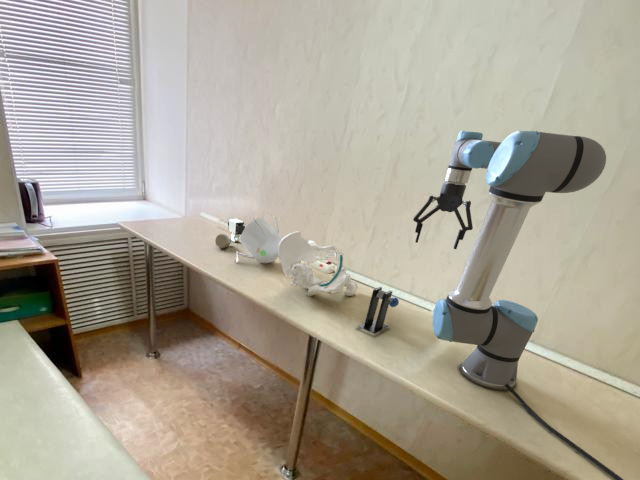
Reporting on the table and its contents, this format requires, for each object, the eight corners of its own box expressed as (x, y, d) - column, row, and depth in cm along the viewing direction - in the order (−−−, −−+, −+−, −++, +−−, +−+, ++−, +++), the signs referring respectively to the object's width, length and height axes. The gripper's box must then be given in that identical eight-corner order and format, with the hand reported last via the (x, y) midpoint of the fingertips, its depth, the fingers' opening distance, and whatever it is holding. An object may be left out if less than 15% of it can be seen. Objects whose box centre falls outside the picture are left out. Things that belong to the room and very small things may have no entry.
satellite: (270, 236, 179) (305, 233, 196) (243, 208, 185) (279, 208, 202) (249, 277, 194) (283, 271, 211) (224, 250, 200) (259, 246, 217)
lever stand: (371, 321, 154) (381, 284, 146) (388, 328, 150) (399, 290, 143) (356, 329, 148) (366, 290, 140) (374, 336, 144) (385, 297, 136)
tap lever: (388, 305, 156) (392, 296, 155) (397, 309, 154) (401, 300, 153) (373, 297, 142) (377, 287, 142) (382, 301, 140) (387, 291, 140)
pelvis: (384, 263, 168) (350, 286, 149) (352, 301, 185) (318, 326, 166) (322, 207, 174) (282, 223, 155) (297, 250, 191) (258, 268, 172)
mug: (234, 245, 222) (235, 231, 213) (224, 256, 217) (224, 243, 209) (222, 239, 223) (223, 225, 214) (212, 250, 219) (212, 236, 210)
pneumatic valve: (236, 244, 223) (237, 221, 217) (226, 238, 231) (227, 215, 225) (245, 243, 226) (247, 221, 219) (235, 237, 234) (236, 215, 227)
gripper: (492, 186, 142) (470, 248, 153) (417, 176, 148) (401, 237, 159) (496, 189, 136) (472, 253, 147) (417, 179, 142) (400, 241, 153)
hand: (435, 245), depth 153 cm, fingers open, 13 cm apart
